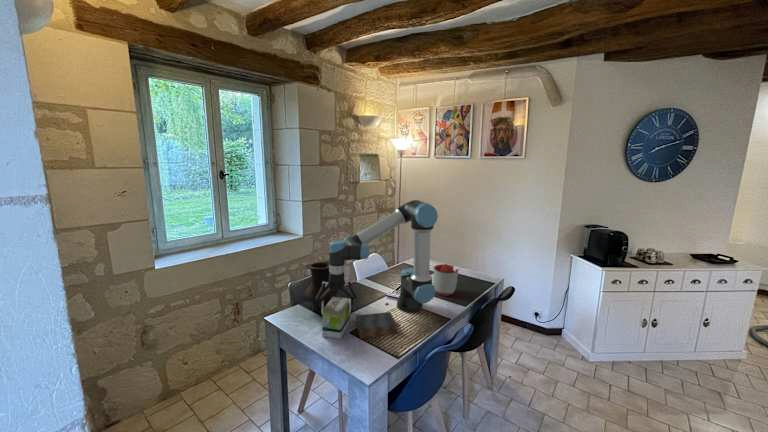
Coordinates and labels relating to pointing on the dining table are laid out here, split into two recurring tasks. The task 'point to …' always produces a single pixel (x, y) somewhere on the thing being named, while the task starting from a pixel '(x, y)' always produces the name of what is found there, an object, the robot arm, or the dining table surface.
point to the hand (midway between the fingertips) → (336, 312)
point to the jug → (318, 283)
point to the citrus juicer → (445, 279)
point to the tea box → (335, 317)
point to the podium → (376, 325)
